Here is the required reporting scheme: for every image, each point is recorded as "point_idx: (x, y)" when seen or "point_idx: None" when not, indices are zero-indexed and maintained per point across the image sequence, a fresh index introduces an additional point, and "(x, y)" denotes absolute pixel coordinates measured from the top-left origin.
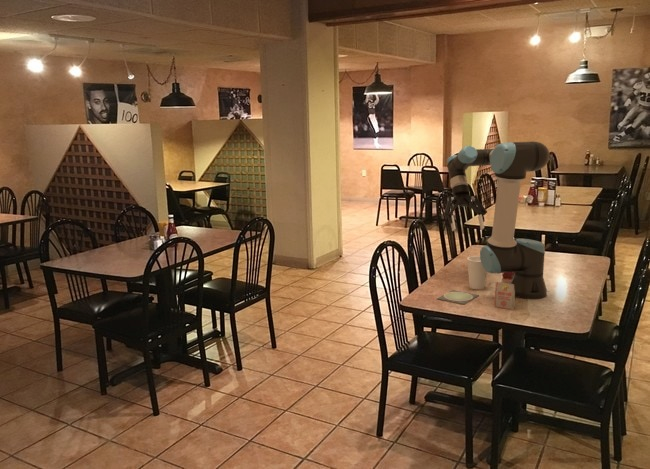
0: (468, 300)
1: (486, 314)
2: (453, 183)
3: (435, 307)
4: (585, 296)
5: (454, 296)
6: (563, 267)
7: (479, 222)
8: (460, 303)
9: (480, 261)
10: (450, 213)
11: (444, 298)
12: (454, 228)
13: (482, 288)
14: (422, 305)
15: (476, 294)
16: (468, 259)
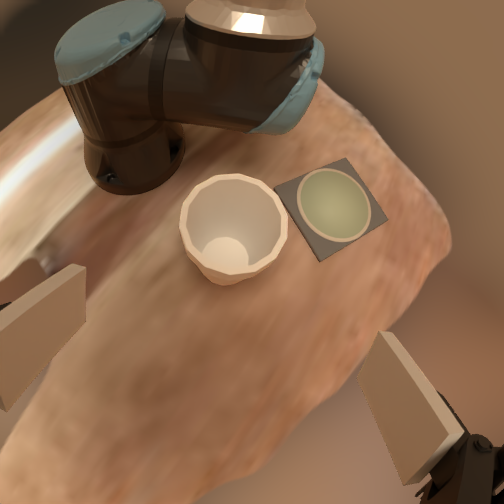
0: (324, 168)
1: (324, 102)
2: None
3: (404, 180)
4: (57, 100)
5: (347, 204)
6: None
7: (45, 357)
8: (350, 165)
9: (254, 179)
10: (482, 456)
11: (373, 209)
12: (391, 333)
13: (220, 237)
14: (424, 204)
15: (278, 193)
16: (285, 231)
